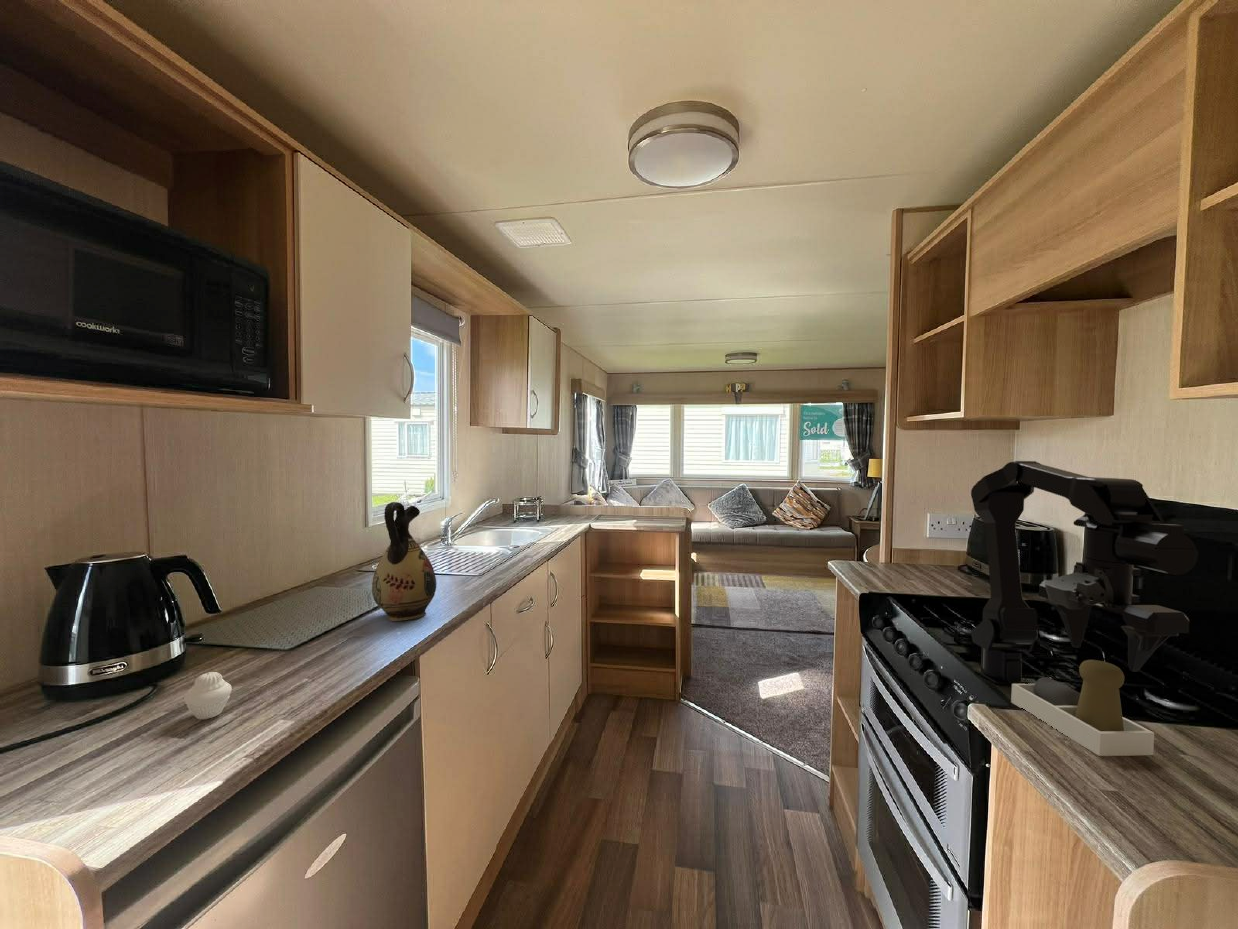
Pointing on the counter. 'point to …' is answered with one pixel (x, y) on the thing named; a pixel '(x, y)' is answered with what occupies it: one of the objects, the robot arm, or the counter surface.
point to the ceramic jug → (403, 569)
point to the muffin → (208, 695)
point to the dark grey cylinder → (1055, 692)
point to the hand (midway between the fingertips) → (1103, 658)
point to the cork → (1100, 696)
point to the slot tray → (1085, 726)
